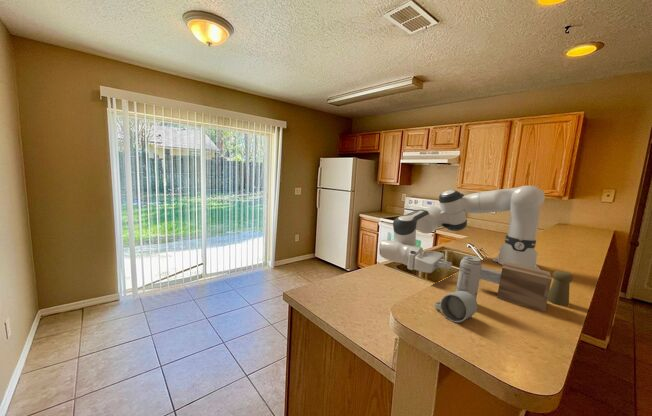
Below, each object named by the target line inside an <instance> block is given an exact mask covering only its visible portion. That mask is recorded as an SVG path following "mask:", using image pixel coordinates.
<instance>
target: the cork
mask: <svg viewBox="0 0 652 416" xmlns="http://www.w3.org/2000/svg"><path fill="white" fill-rule="evenodd" d="M552 279H553V281H552V282H551V285H550V290H549V295H548V300H547V302H549V303H552V304H553V305H557V306H561V307H569V306H570V287H571V286H570V283H572V282H573V280H574V276H573V274H572V273H570V272H568V271H564V270H560V269H559V270H555V271H553V273H552Z"/></svg>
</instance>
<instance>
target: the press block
mask: <svg viewBox="0 0 652 416" xmlns="http://www.w3.org/2000/svg"><path fill="white" fill-rule="evenodd" d="M552 279H553V277H552V276H551V272H550V271H548V270H543V269H541V268H540V269H535V268H531V267H526V266H522V265H517V264H513V263H508V262H504V264H503V265H502V268H501V278H500V283H499V284H498V289H497V290H498V291H497V295H496V299H499V300H502V301H504V302H505V301H506V302H508V303H512V304H515V305H519V306H522V307H527V308H529V309H532V310H536V311H540V312H543V313H546V308H547V302H548V295H549V290H550V288H551V286H552V282H553V281H552Z"/></svg>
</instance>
